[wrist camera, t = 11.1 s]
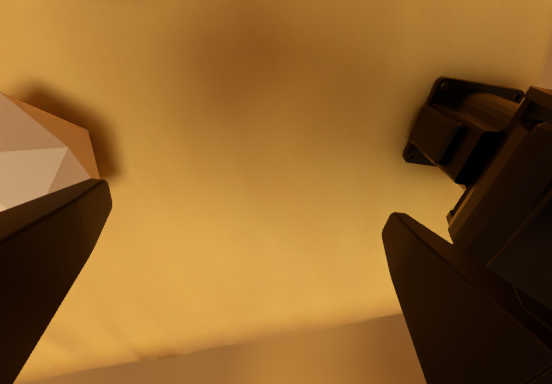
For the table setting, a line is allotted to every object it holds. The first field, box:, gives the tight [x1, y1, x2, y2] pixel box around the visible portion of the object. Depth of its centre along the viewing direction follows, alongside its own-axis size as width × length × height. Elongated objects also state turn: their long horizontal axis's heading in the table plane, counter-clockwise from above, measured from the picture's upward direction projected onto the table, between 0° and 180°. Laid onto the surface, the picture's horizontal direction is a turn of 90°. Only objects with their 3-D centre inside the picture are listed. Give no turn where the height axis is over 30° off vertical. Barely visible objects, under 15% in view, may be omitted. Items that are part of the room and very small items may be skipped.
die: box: [0, 92, 100, 212], centre depth 18 cm, size 8×9×10 cm
